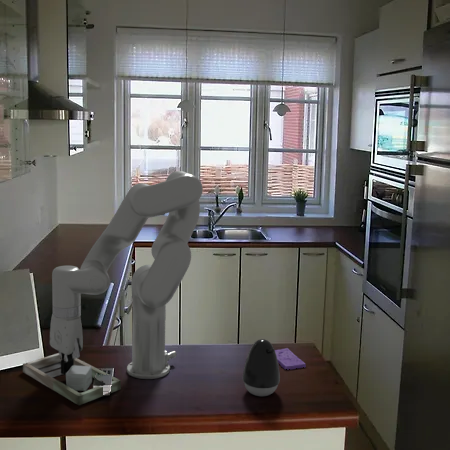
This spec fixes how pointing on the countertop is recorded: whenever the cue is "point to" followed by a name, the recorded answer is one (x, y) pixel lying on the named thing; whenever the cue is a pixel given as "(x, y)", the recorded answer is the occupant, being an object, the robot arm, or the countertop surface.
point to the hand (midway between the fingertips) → (67, 373)
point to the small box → (79, 377)
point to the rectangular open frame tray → (53, 362)
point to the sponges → (288, 359)
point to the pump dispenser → (261, 369)
